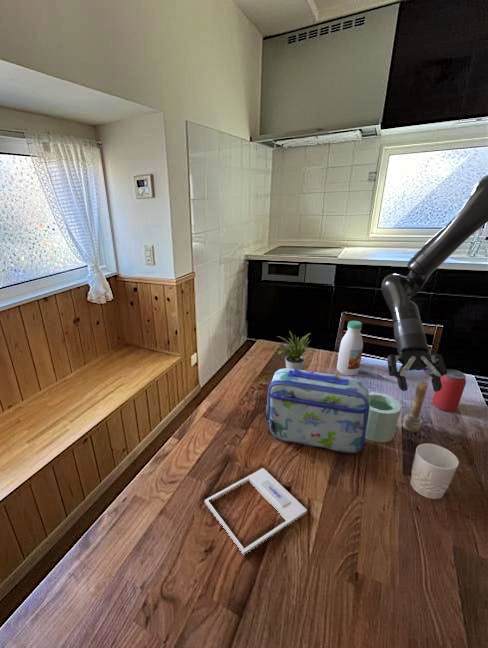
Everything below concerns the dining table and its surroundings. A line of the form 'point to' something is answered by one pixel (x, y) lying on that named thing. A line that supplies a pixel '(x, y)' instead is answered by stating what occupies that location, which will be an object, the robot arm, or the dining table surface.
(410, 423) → the brush
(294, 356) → the house plant
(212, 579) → the dining table surface
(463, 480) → the dining table surface
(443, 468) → the white cup
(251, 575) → the dining table surface
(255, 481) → the photo frame
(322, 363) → the dining table surface
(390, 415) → the jar
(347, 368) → the milk bottle
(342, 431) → the lunch box
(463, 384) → the beer can
